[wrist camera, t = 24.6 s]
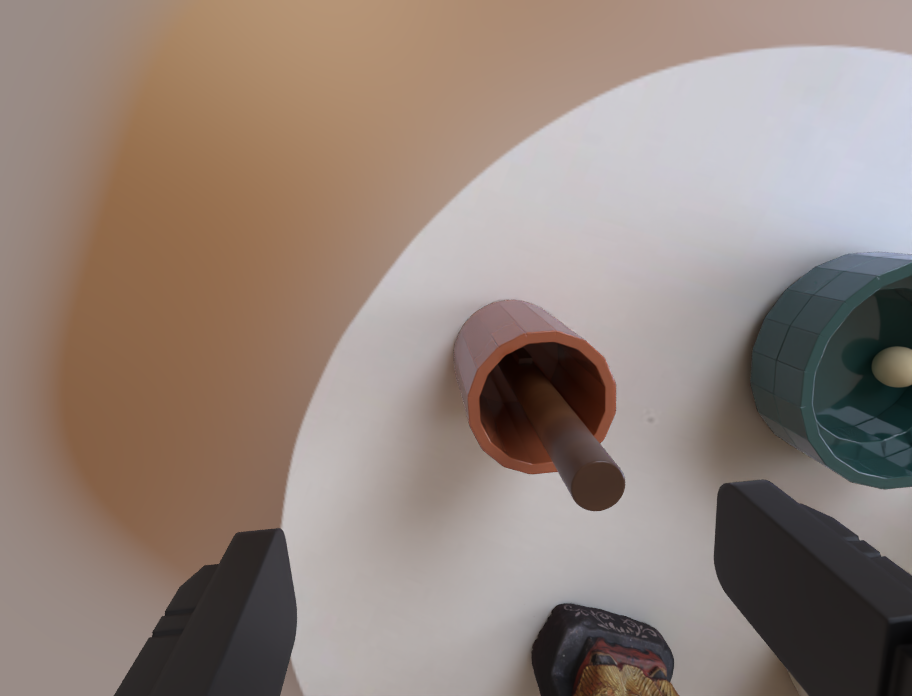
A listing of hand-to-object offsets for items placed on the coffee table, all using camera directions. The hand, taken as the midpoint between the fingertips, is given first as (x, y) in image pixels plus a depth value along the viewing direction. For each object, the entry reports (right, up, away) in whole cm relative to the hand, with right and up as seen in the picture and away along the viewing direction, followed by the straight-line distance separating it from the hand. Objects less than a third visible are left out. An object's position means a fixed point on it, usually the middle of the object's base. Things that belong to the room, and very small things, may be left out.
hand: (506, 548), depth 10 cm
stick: (+3, +3, +27) cm, 27 cm away
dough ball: (+29, +2, +28) cm, 40 cm away
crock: (+3, +3, +27) cm, 28 cm away
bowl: (+27, +3, +29) cm, 40 cm away
